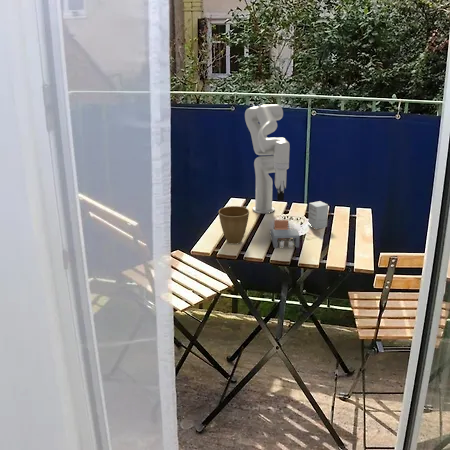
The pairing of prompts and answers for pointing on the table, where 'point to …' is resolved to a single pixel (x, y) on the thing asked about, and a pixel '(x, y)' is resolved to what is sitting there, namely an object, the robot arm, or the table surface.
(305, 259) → the table surface
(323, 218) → the supplement box
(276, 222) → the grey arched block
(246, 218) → the plant pot
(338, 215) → the table surface
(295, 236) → the bridge
